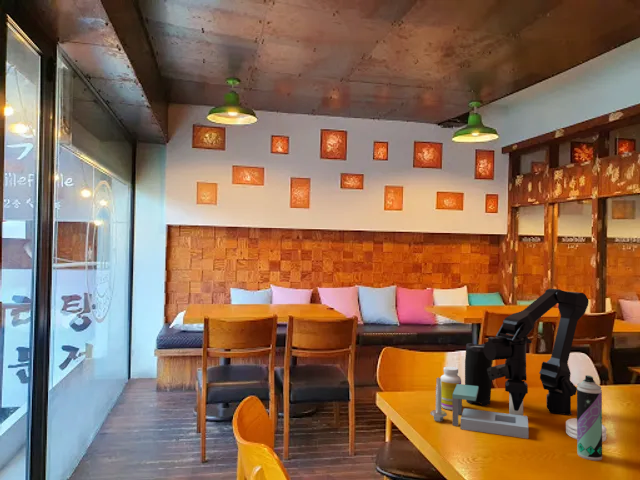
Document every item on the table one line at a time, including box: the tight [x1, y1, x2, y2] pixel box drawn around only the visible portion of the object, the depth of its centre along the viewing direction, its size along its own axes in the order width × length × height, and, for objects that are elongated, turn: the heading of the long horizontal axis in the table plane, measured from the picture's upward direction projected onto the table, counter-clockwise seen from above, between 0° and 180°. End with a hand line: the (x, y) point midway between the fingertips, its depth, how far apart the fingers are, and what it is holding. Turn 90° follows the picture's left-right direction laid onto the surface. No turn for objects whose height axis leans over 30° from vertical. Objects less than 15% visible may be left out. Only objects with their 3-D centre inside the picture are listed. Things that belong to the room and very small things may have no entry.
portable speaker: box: [464, 342, 492, 407], centre depth 163 cm, size 9×9×20 cm
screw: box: [429, 376, 448, 423], centre depth 145 cm, size 13×5×5 cm
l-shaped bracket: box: [452, 383, 478, 427], centre depth 145 cm, size 6×12×9 cm, turn 158°
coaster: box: [565, 417, 607, 443], centre depth 134 cm, size 10×10×4 cm
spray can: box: [576, 374, 603, 461], centre depth 120 cm, size 6×6×20 cm
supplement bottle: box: [440, 366, 462, 411], centre depth 157 cm, size 7×7×13 cm
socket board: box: [460, 407, 529, 439], centre depth 139 cm, size 18×10×3 cm, turn 68°
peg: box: [508, 392, 524, 416], centre depth 148 cm, size 4×4×9 cm
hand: (516, 408), depth 148 cm, fingers closed on peg, 4 cm apart
